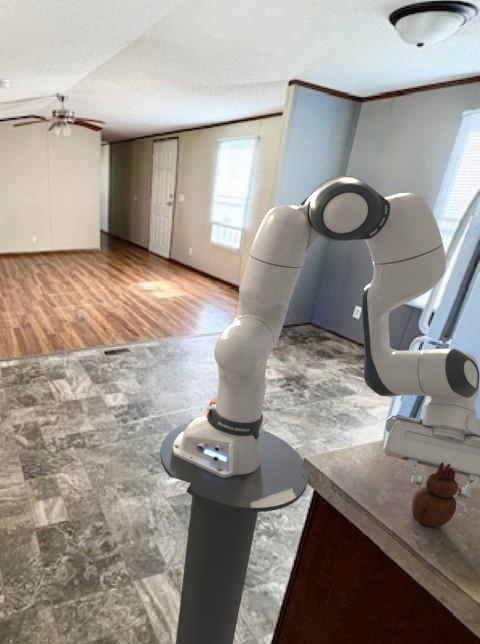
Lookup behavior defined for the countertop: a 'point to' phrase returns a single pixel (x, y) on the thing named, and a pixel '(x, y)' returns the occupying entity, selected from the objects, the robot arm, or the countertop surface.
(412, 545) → the countertop surface
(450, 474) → the wooden figurine
